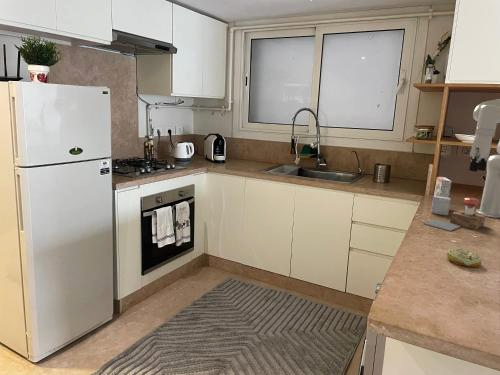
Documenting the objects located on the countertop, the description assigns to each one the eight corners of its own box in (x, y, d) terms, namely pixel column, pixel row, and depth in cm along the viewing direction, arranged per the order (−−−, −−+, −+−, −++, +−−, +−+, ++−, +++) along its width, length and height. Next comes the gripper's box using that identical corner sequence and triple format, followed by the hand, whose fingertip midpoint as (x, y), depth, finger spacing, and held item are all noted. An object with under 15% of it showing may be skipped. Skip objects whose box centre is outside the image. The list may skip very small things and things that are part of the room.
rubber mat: (434, 220, 183) (434, 219, 183) (461, 226, 175) (461, 225, 175) (423, 224, 175) (423, 223, 175) (450, 231, 167) (450, 230, 167)
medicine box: (447, 213, 196) (450, 197, 195) (447, 216, 192) (450, 199, 191) (430, 211, 200) (433, 195, 198) (430, 213, 196) (433, 197, 194)
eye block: (458, 219, 187) (460, 209, 186) (483, 225, 179) (485, 215, 178) (449, 223, 180) (451, 213, 179) (475, 229, 172) (477, 219, 171)
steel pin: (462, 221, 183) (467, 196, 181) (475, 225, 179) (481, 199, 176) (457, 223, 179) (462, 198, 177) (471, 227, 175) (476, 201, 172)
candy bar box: (431, 205, 213) (436, 176, 210) (441, 206, 212) (446, 177, 209) (437, 210, 203) (442, 180, 199) (447, 211, 202) (452, 181, 198)
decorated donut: (471, 271, 126) (473, 260, 125) (440, 259, 134) (441, 249, 133) (486, 265, 132) (488, 255, 131) (455, 254, 140) (457, 244, 139)
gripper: (482, 132, 179) (475, 168, 182) (468, 131, 168) (460, 169, 171) (500, 134, 173) (493, 171, 176) (487, 133, 162) (478, 172, 165)
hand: (477, 170), depth 174 cm, fingers open, 9 cm apart
